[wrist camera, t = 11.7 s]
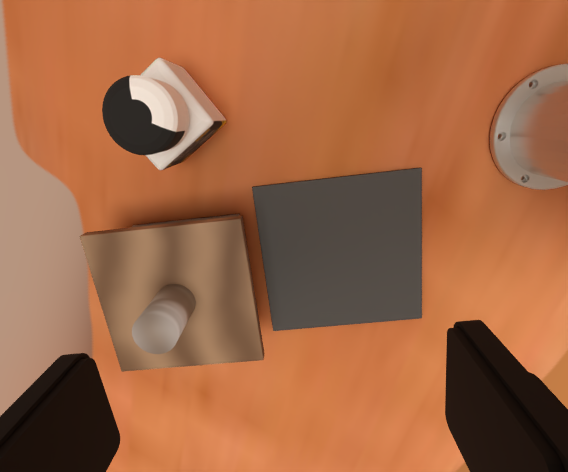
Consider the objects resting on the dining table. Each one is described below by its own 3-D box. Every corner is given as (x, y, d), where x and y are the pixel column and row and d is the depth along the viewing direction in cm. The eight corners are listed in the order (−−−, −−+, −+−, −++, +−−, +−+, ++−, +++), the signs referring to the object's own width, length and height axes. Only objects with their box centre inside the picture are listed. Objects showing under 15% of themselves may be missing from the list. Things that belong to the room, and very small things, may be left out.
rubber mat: (420, 167, 40) (421, 168, 40) (420, 316, 46) (421, 318, 46) (252, 186, 41) (252, 187, 41) (273, 329, 47) (273, 331, 47)
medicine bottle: (181, 163, 41) (138, 181, 29) (136, 111, 39) (71, 109, 28) (228, 121, 39) (200, 123, 28) (183, 66, 38) (134, 44, 26)
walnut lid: (242, 215, 35) (229, 239, 28) (264, 353, 40) (257, 401, 33) (86, 232, 36) (37, 259, 30) (126, 364, 41) (92, 413, 34)
